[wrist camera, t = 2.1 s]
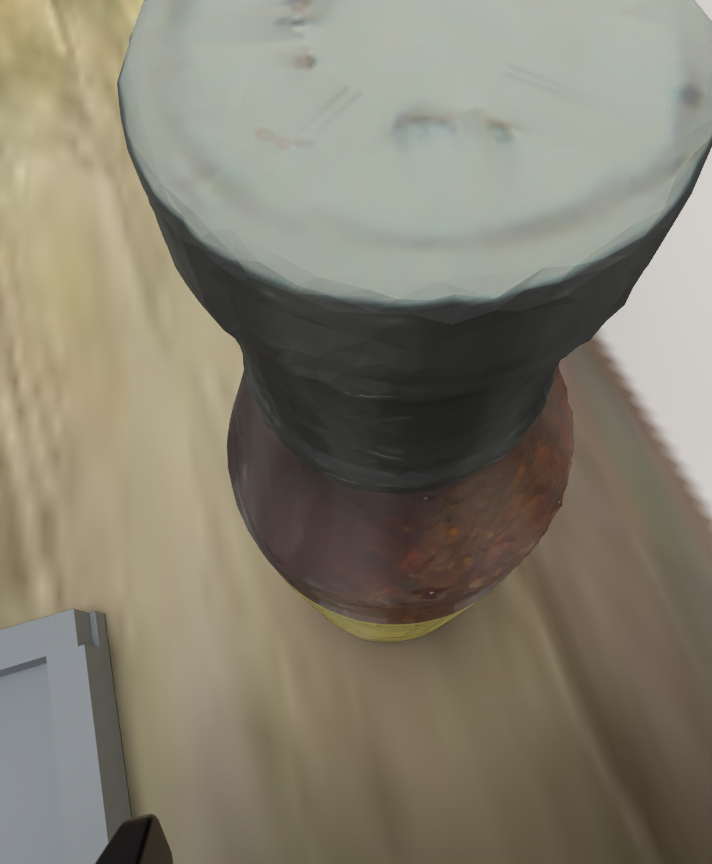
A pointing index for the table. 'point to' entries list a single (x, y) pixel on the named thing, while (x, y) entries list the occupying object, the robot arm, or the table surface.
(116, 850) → the robot arm
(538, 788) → the table surface
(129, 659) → the table surface
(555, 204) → the sauce bottle
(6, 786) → the keeper tray
